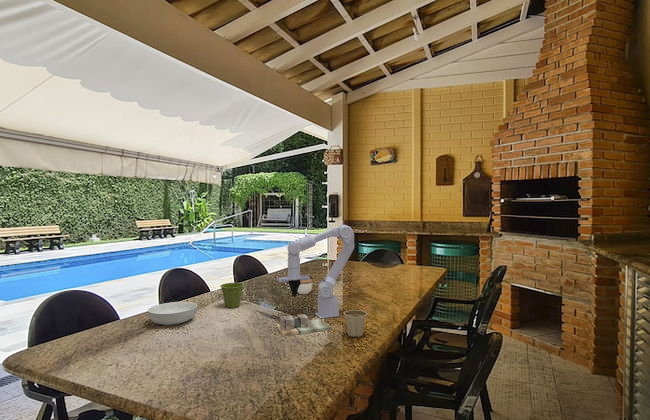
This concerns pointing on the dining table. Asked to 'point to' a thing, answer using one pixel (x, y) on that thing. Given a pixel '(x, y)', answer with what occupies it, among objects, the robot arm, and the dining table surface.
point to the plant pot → (232, 294)
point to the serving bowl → (172, 312)
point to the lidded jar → (305, 286)
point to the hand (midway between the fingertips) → (294, 296)
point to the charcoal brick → (296, 322)
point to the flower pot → (355, 322)
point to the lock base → (305, 325)
